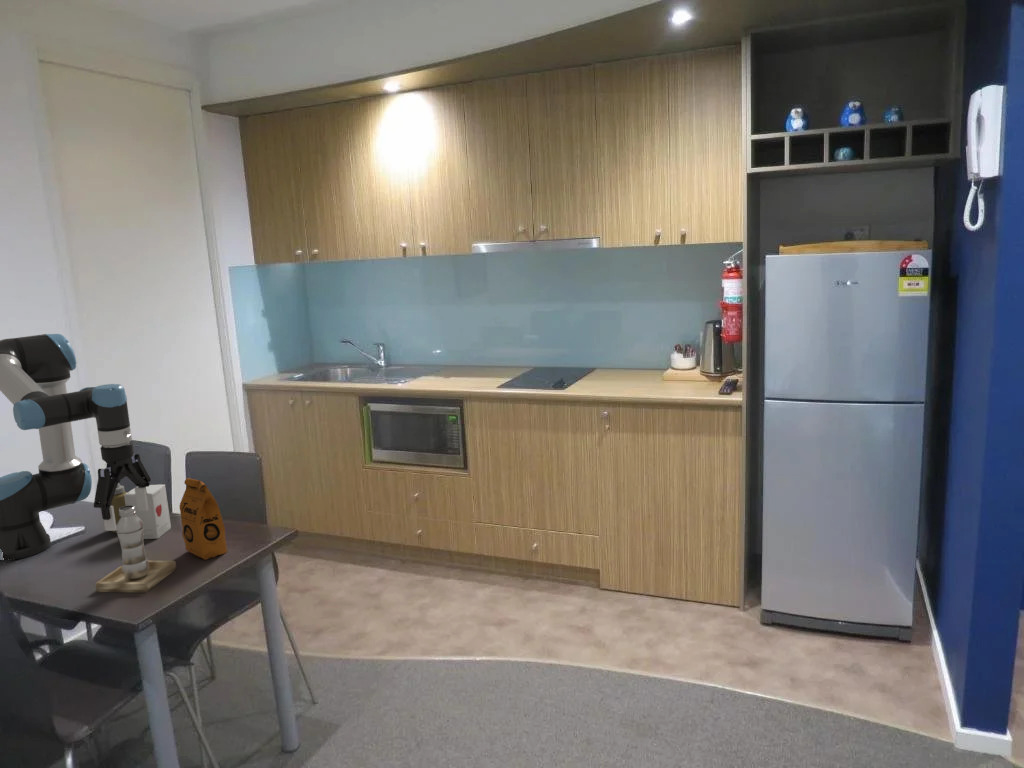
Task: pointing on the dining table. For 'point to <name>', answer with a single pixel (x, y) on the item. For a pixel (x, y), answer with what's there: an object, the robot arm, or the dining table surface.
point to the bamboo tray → (141, 585)
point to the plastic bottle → (132, 544)
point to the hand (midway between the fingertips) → (127, 519)
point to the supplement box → (152, 511)
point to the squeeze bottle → (118, 501)
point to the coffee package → (201, 521)
